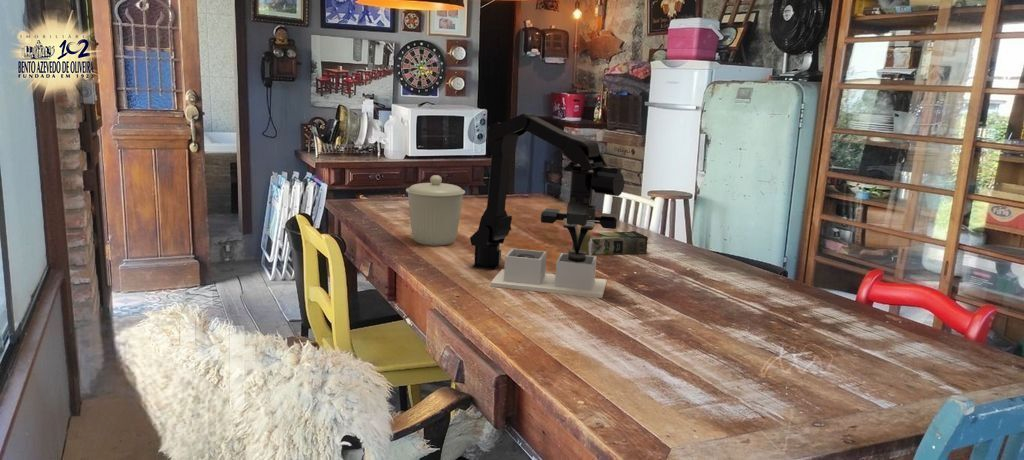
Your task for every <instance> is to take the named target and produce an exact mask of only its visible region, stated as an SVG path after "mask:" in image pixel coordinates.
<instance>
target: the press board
mask: <svg viewBox="0 0 1024 460" xmlns="http://www.w3.org/2000/svg"><path fill="white" fill-rule="evenodd" d="M547 253H548V252H547V251H543V250H535V249H534V250H533V249H521V248H511V249H510V250H509V251H508V252H507V253H506V255H504V266H503V267H504V268H502V269H501V270H500V271H499V272H498V273H497V274H496V275H495V277H493V279H492V280H491V281H490V288H491V287H493V288H501V289H502V288H504V289H512V290H522V291H530V292H540V293H548V294H549V293H550V294H559V295H570V296H576V297H577V296H578V297H588V298H596V299H603V297H604V293H605V289H606V286H607V280H608V279H605V278H596V271H597V258H598V257H597V256H598V255H589V256H587V255H586V260H585V261H584V262H579V263H575V262H574V261H570V260H568V253H566V252H565V253H564V252H563V253H562V252H560V255H558V258H557V259H556V261H555V274H554V273H546V269H547ZM520 254H529V255H533V256H535V259H534V258H523V257H518V255H520Z"/></svg>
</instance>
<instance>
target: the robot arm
mask: <svg viewBox="0 0 1024 460" xmlns="http://www.w3.org/2000/svg"><path fill="white" fill-rule="evenodd" d="M527 133H530V134H531V135H534V136H535V137H537V138H539V139H541V140H542V141H544V142H547V143H548V144H551V146H552V145H553V146H554V147H555V148H558V149H559V150H560V151H561V152H562V154H563V155H564V156H565V158H567V159H568V160H569V161H570V162H569V163H568V164H567V165H566V166H565V167H563V169H562V170H563V171H564V172H570V183H569V185H570V186H569V198H568V199H569V200H568V204H567V207H566V213H564V212H560V211H561V210H560V209H558V208H545V209H544V210H543V211H542V212H541V215H540V223H544V224H552V225H553V224H554V223H555V222H557V221H563V225H562V227H563V229H567V230H568V232H569V234H570V236H571V241H572V246H573V245H574V249H575V252H579V250H580V247H581V245H582V242H583V240H584V237H585V235H586V234H587V232H589V231H593V230H594V228H595V224H597V225H598V224H599V225H600V227H602V228H603V229H610V230H611V229H612V230H616V229H617V227H618V221H619V216H618V215H617V214H615V213H606V212H604V213H602V214H601V215H600V216H598V215H596V214H597V213H596V212H597V206H596V205H593V199H594V197H593V195H594V193H596V194H601V195H608V196H612V197H613V196H614V197H619V196H620V195H622V193H623V191H624V187H625V180H624V174H623V173H622V168H621V167H618V166H616V167H611V166H610V167H609V166H608V165H607V163H606V160H605V159H604V157H603V155H602V154H601V152H600V147H599V143H598V142H597V141H596V140H593V139H591V138H586V137H584V136H579V135H574V134H572V133H571V134H570V133H569V132H566V131H564V130H563V129H561V128H559V127H557V126H555V125H553V124H551V123H550V122H548V121H545V120H544V119H542V118H540V117H539V116H537V115H536V114H534V113H521V114H519V115H517V116H514V117H512V118H510V119H507V120H504V121H501V122H493V123H491V124H490V125H489V126H488V127H487V129H486V143H487V144H486V145H487V147H488V150H489V152H490V155H491V156H490V158H491V159H490V168H489V180H488V190H487V191H488V192H487V200H486V201H487V204H486V207H485V211H483V214H482V215H481V217H480V220H479V225H478V229H477V230H476V231H475V232H474V233H473V234H471V236H470V237H469V241H470V243H471V246H474V264H472V268H478V269H487V270H497V268H498V267H499V266H500V265H501V263H502V250H501V249H500V244H504V242H505V240H506V238H507V237H508V236H509V233H510V231H512V225H511V224H512V220H513V218H512V217H513V216H512V215H508V213H507V211H506V200H507V191H508V181H509V170H510V160H511V159H510V158H511V155H512V154H513V152H514V151H515V148H516V147H517V145H518V140H519V137H521V136H523V135H525V134H527ZM578 226H580V229H579V228H578ZM578 230H580V235H579V240H578Z"/></svg>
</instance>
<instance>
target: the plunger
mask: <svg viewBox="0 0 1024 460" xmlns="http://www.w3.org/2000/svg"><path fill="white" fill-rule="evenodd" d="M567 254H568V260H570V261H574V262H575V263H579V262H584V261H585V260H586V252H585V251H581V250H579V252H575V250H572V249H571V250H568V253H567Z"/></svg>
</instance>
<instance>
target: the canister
mask: <svg viewBox="0 0 1024 460" xmlns="http://www.w3.org/2000/svg"><path fill="white" fill-rule="evenodd" d="M429 181H430V182H421V183H416V184H412V185H410V186H409V187H406V189H405V192H406V193H407V196H408V199H407V200H408V206H409V208H408V209H409V220H410V228H411V229H410V230H411V235H412V238H413V240H414V241H415V242H416V243H418V244H420V245H425V246H433V247H436V246H438V247H439V246H448V245H451V244H452V243H454V242H455V240H456V239H457V235H458V230H459V224H460V218H461V210H462V203H463V197H464V195H465V194H466V191H465V190H464V189H462V187H460V186H458V185H456V184H452V183H451V184H450V183H445V182H444V183H443V182H442V181H443V180H442V176H440V175H438V174H436V175H435V174H434V175H432V176H430V178H429Z"/></svg>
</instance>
